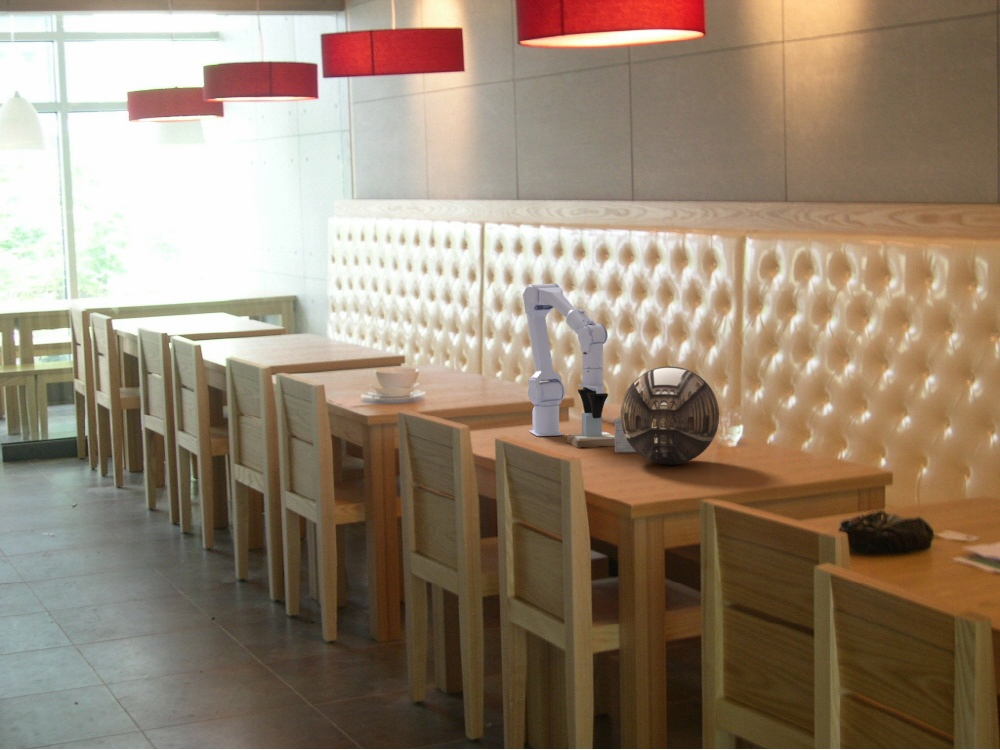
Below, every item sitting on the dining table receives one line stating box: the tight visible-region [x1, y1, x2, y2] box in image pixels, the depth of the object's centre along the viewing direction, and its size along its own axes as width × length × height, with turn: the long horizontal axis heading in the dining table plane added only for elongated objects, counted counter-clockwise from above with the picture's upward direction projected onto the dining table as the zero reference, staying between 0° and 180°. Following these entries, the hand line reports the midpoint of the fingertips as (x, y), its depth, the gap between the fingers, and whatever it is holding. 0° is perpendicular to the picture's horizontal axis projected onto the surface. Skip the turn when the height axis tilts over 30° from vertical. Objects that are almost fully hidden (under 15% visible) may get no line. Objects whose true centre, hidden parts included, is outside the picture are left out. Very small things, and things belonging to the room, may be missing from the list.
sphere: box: [620, 365, 720, 466], centre depth 330 cm, size 25×25×25 cm
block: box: [581, 412, 603, 437], centre depth 361 cm, size 4×4×6 cm
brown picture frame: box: [567, 431, 615, 449], centre depth 362 cm, size 10×12×2 cm
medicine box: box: [614, 418, 637, 453], centre depth 350 cm, size 8×4×9 cm, turn 84°
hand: (592, 416), depth 361 cm, fingers open, 7 cm apart
